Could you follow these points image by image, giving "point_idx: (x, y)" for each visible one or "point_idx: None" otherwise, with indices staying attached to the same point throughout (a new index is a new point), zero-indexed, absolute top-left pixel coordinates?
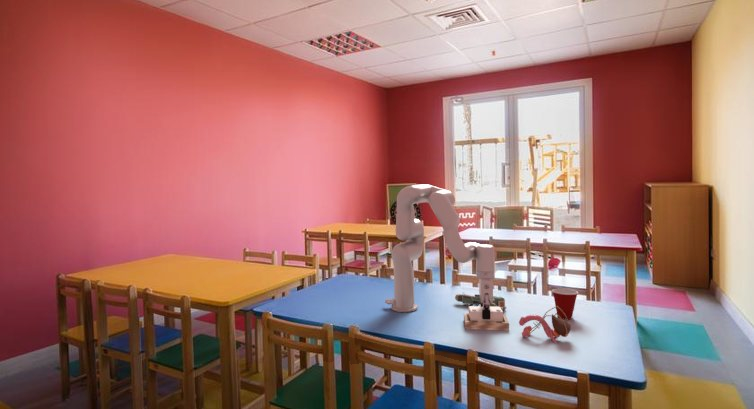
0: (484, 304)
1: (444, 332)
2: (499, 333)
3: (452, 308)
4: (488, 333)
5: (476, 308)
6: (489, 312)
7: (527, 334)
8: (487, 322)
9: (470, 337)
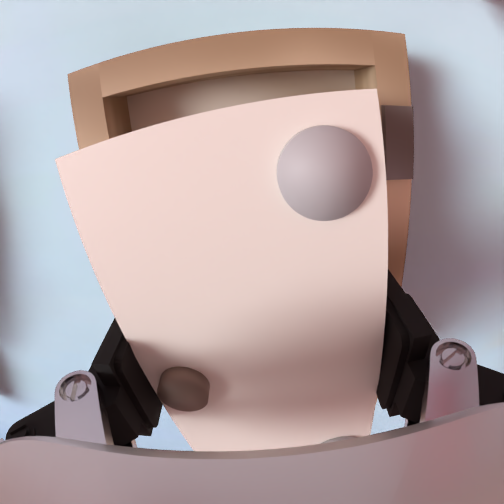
0: (138, 402)
1: (397, 426)
2: (444, 144)
3: (38, 408)
4: (444, 231)
5: (266, 441)
6: (412, 317)
7: None
8: (398, 270)
9: (479, 327)
